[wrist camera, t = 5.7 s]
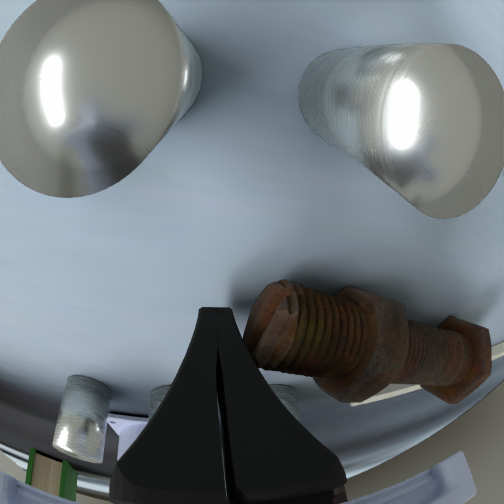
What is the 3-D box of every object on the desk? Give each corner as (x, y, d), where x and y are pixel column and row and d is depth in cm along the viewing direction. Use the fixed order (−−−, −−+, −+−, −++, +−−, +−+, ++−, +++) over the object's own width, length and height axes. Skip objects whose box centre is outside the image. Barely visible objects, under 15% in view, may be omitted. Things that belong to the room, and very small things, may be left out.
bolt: (257, 243, 12) (443, 314, 17) (218, 351, 12) (417, 378, 17) (330, 260, 7) (507, 335, 11) (259, 433, 7) (474, 411, 11)
